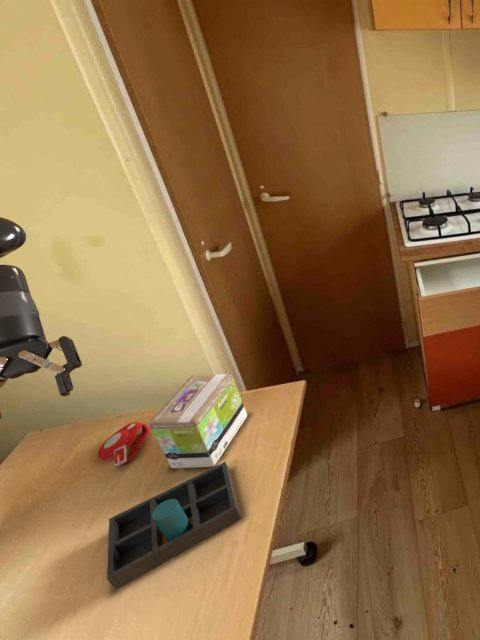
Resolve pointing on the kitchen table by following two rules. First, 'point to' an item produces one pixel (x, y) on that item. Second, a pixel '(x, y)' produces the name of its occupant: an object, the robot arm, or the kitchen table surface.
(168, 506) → the cylinder
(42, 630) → the kitchen table surface
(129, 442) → the tracker holder
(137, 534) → the grid
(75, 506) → the kitchen table surface
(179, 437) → the tea box
